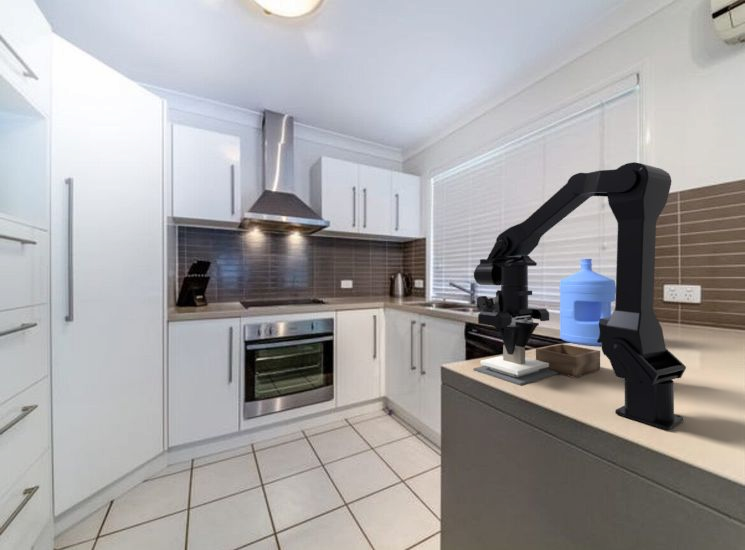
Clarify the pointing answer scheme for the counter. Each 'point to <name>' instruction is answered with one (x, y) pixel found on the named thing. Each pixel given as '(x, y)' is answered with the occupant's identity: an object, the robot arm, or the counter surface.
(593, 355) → the box
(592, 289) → the water jug
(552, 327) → the counter surface
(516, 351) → the lid
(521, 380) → the mat
